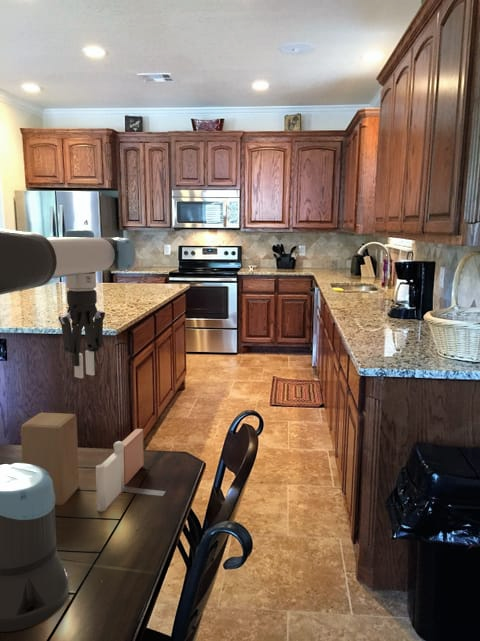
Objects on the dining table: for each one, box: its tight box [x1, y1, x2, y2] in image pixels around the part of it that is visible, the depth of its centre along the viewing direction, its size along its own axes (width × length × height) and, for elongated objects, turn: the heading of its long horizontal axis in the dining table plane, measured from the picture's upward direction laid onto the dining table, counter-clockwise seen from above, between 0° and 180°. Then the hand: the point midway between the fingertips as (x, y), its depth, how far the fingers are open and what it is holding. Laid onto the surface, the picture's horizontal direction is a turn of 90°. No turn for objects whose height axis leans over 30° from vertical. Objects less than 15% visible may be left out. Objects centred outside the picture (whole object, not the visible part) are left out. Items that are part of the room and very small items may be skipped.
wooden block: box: [20, 412, 80, 506], centre depth 121 cm, size 10×10×20 cm
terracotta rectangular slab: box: [121, 428, 144, 486], centre depth 132 cm, size 12×2×10 cm, turn 169°
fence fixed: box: [95, 440, 125, 512], centre depth 120 cm, size 12×3×13 cm, turn 169°
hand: (84, 375), depth 134 cm, fingers open, 3 cm apart
